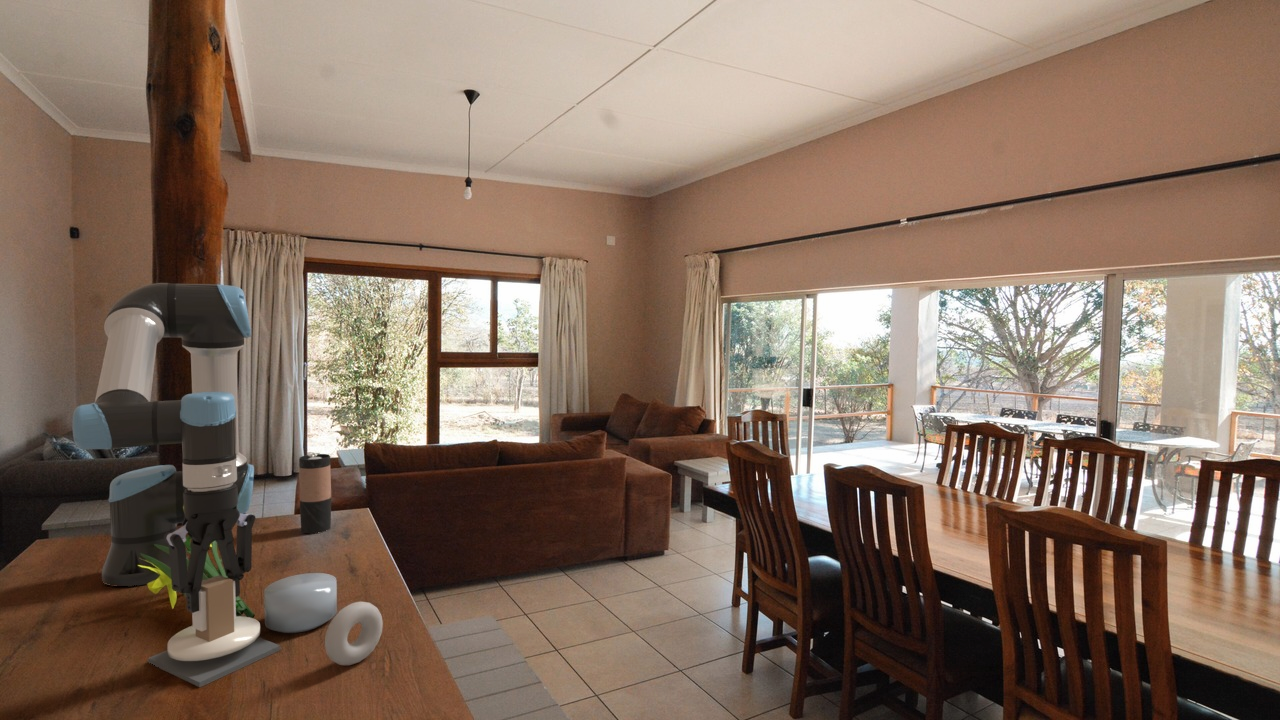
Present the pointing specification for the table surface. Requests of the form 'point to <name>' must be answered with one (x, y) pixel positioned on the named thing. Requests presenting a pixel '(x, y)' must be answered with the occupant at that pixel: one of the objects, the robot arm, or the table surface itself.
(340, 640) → the donut
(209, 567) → the daffodil flowers
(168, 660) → the mat
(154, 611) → the table surface
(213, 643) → the lid
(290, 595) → the light blue short cylinder
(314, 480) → the travel mug
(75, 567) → the table surface
